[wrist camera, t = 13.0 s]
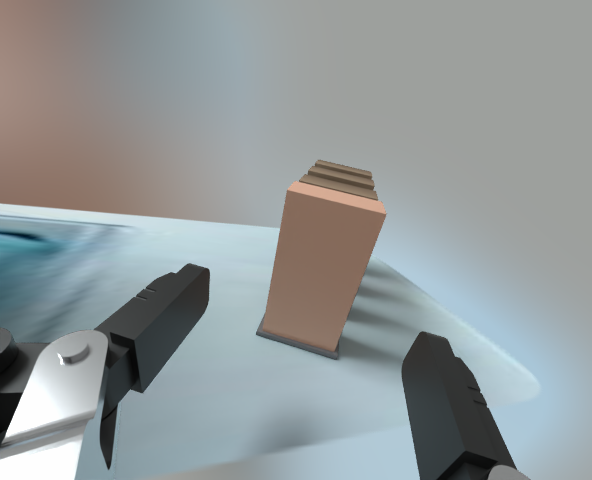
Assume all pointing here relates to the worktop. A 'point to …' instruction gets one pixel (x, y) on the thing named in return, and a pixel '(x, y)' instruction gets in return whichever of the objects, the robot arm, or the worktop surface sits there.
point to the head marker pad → (297, 343)
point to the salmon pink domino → (320, 262)
